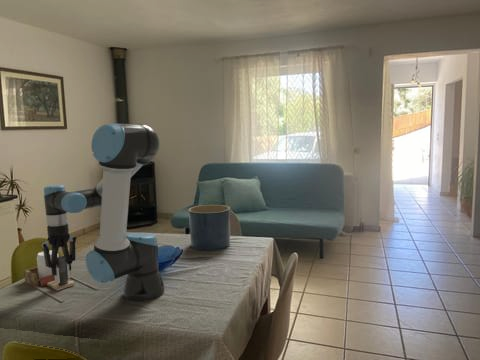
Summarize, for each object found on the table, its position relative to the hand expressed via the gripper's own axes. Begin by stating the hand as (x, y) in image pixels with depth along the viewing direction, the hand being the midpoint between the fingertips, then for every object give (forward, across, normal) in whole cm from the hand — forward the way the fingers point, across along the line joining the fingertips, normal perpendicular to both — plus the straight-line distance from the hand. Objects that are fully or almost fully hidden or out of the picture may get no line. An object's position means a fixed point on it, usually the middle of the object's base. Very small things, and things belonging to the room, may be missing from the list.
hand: (62, 280), depth 148 cm
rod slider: (+2, 0, -3) cm, 3 cm away
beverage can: (+3, 0, -12) cm, 12 cm away
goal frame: (+3, 0, -14) cm, 14 cm away
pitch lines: (+3, 0, +3) cm, 4 cm away
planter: (+3, -76, +10) cm, 77 cm away
